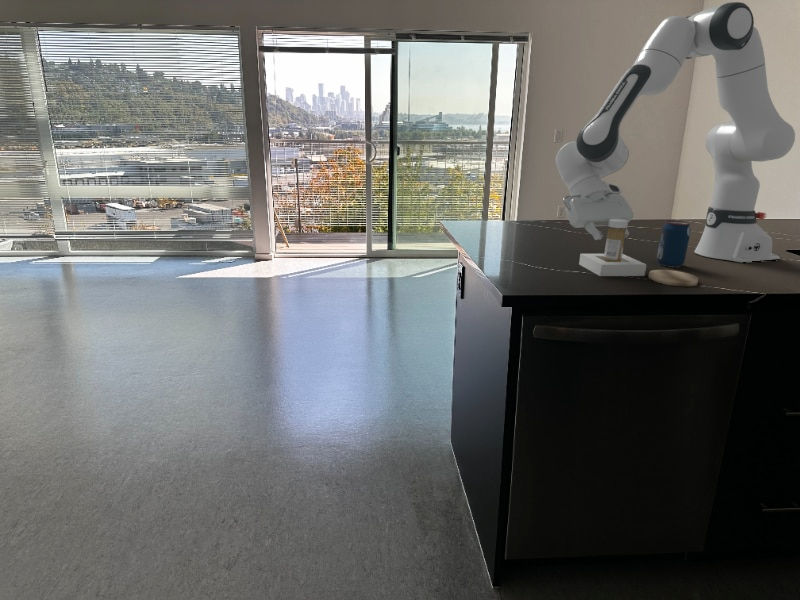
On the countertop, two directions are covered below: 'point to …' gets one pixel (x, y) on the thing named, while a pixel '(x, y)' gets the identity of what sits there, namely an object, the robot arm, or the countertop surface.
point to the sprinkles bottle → (615, 240)
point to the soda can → (673, 243)
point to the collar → (612, 265)
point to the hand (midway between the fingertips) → (612, 237)
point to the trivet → (673, 278)
